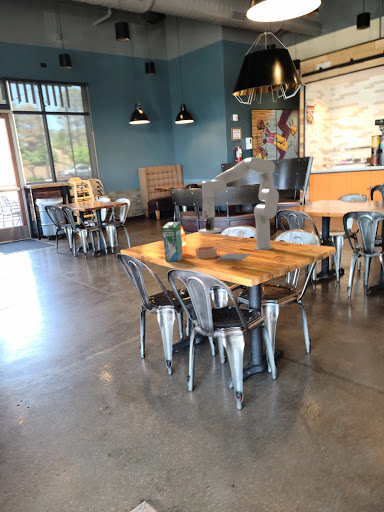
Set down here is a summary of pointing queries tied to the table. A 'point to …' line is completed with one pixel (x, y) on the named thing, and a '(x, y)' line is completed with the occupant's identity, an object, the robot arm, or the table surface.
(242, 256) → the mat
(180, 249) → the milk carton
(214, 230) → the lid
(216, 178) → the robot arm
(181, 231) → the orange juice
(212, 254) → the bowl
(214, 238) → the table surface
